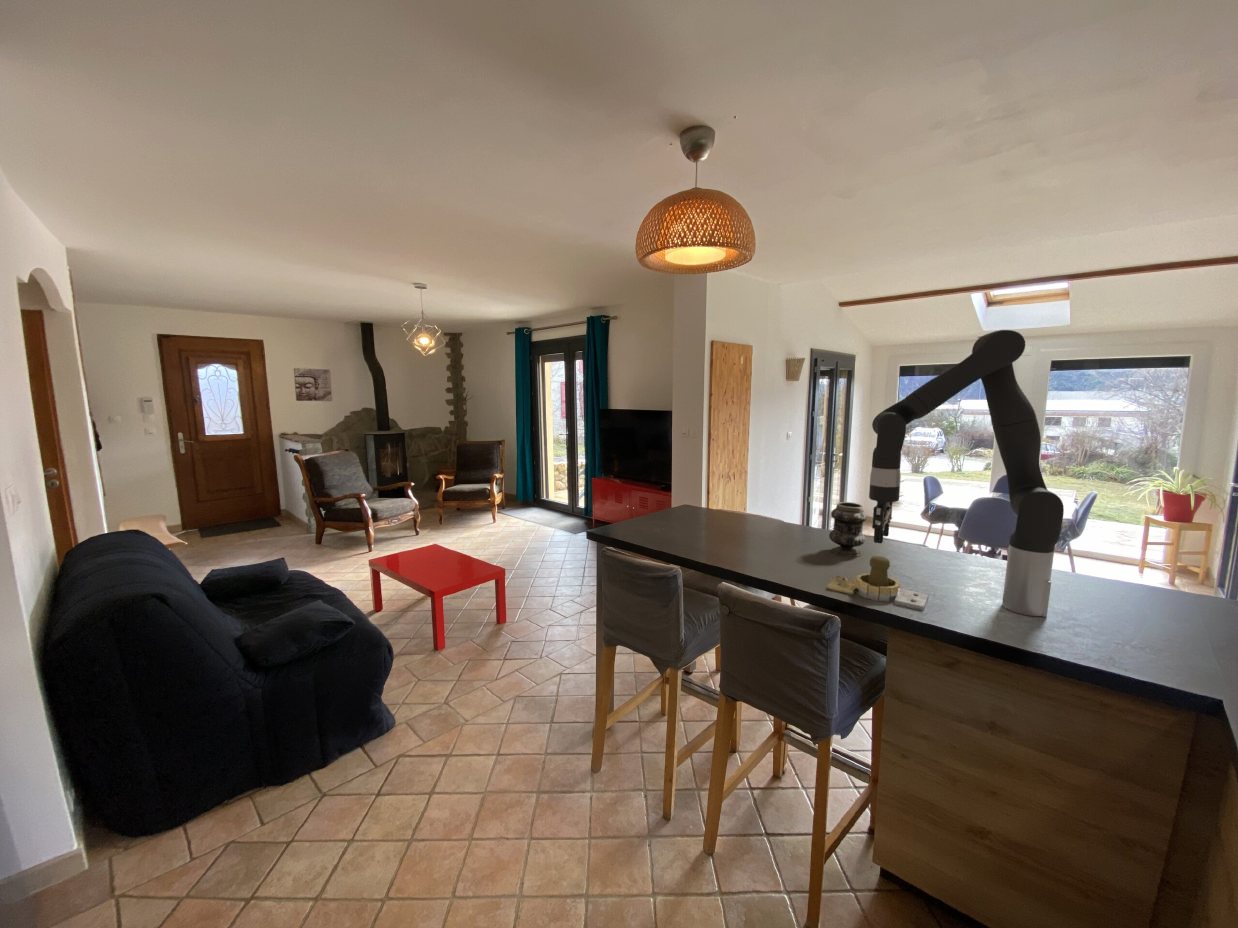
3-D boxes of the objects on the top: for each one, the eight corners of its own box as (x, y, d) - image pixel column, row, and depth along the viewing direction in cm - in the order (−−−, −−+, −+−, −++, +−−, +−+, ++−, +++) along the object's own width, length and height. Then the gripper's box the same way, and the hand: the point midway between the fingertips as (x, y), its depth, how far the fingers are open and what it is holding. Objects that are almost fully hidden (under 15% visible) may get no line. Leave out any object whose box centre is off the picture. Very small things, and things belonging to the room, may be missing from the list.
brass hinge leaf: (901, 592, 145) (902, 579, 144) (894, 604, 136) (895, 590, 136) (837, 578, 156) (837, 566, 155) (827, 589, 147) (828, 576, 147)
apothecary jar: (868, 558, 174) (872, 508, 171) (832, 556, 176) (835, 507, 174) (859, 548, 186) (862, 501, 183) (825, 546, 188) (828, 500, 185)
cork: (866, 596, 142) (869, 559, 141) (865, 588, 148) (867, 552, 146) (890, 599, 140) (893, 561, 138) (887, 591, 146) (890, 555, 144)
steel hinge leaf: (928, 597, 141) (929, 591, 141) (923, 611, 132) (924, 604, 132) (860, 583, 152) (861, 577, 151) (851, 594, 143) (852, 588, 143)
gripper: (895, 488, 131) (891, 547, 134) (904, 481, 143) (900, 535, 145) (864, 485, 136) (861, 542, 138) (875, 478, 147) (871, 531, 149)
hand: (881, 539), depth 142 cm, fingers open, 8 cm apart
